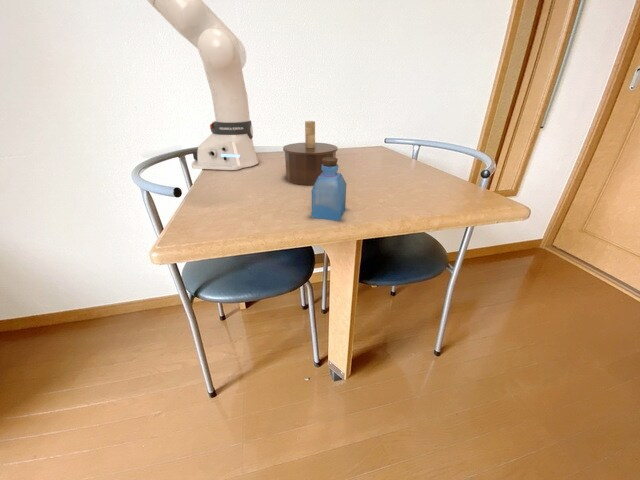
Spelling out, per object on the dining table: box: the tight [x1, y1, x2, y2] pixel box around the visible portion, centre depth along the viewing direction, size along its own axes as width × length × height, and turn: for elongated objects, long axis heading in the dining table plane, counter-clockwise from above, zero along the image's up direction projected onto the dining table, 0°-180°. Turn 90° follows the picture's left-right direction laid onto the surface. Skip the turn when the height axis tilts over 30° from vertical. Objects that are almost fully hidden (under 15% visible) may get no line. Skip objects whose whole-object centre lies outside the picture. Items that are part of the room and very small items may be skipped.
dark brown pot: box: [284, 151, 337, 186], centre depth 88 cm, size 15×15×8 cm
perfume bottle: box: [311, 157, 347, 222], centre depth 63 cm, size 6×6×12 cm
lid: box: [282, 120, 338, 155], centre depth 84 cm, size 16×16×8 cm
